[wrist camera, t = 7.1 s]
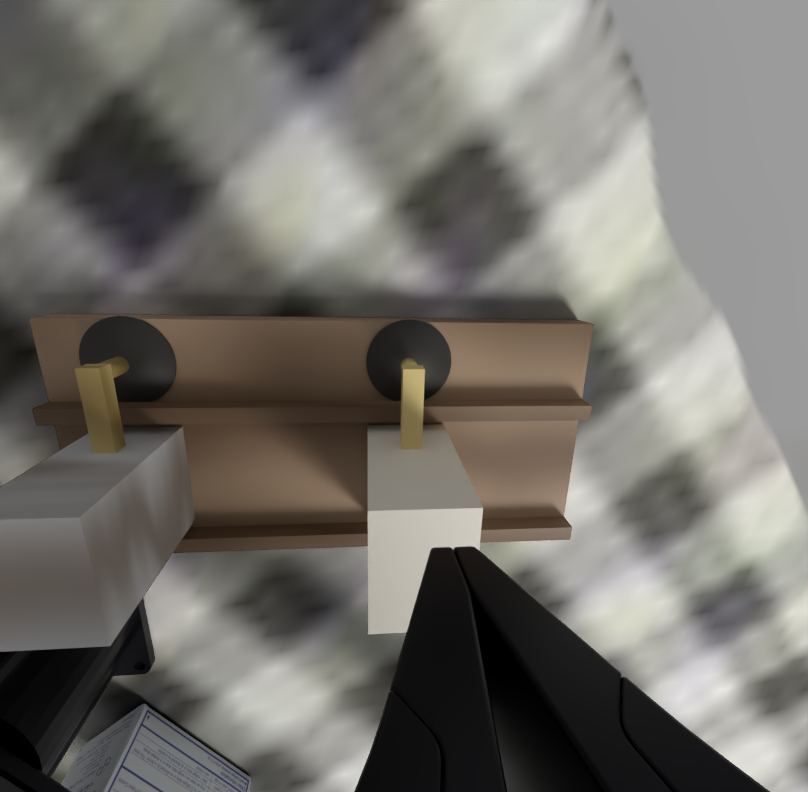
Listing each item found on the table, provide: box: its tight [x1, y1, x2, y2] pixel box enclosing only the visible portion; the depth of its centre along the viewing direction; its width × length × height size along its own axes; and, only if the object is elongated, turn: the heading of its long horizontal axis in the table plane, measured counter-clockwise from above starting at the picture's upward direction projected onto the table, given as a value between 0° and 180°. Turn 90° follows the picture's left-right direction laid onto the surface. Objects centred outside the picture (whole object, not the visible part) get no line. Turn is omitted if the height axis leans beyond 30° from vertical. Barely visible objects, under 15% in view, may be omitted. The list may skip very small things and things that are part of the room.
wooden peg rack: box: [0, 314, 593, 652], centre depth 14 cm, size 9×20×7 cm, turn 89°
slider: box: [368, 358, 483, 634], centre depth 14 cm, size 7×3×6 cm, turn 179°
